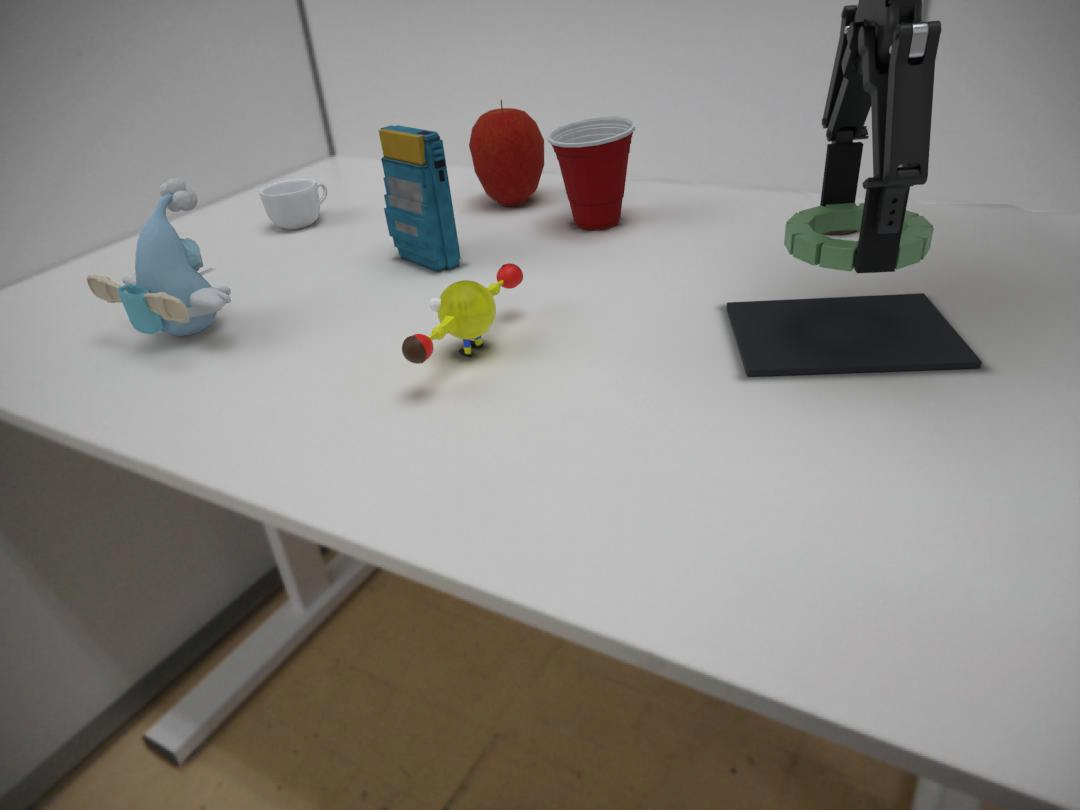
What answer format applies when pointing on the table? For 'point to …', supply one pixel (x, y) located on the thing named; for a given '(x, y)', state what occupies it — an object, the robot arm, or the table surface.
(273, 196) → the teacup
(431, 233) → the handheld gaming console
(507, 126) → the apple
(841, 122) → the robot arm
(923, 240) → the ring
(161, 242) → the toy figure
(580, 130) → the plastic cup
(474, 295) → the toy figure
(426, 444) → the table surface
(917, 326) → the mat
